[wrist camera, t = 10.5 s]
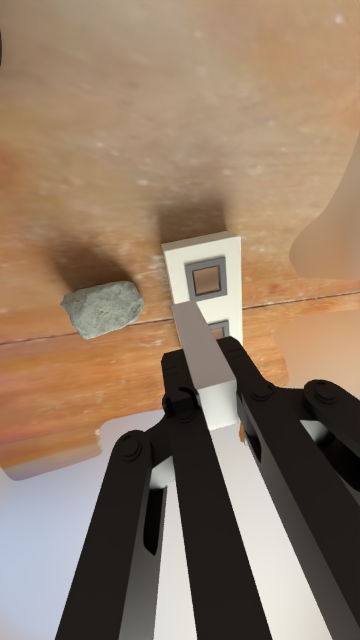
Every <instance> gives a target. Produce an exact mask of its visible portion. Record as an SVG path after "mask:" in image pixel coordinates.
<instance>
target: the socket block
mask: <svg viewBox="0 0 360 640" xmlns="http://www.w3.org/2000/svg"><path fill="white" fill-rule="evenodd" d="M161 246H162V251H163V256H164V261H165V266H166V271H167V276H168V281H169V286H170V291H171V296H172V301H173V305H174V304H178V303H182V302H186V301H190V300H194V299H195V301H196V303H197V305H198V307H199V309H200V311H201V313H202V315H203V316H204V318H205V320H206V322H207V324H208V326H209V328H210V330H212V329H217V328H221V327H222V333H223V338H224V337H227V336H232V337H234V338H235V339H237V340H238V341H239V342H240V343H241V345H242V293H241V236H240V235H237V234H235V233H232V232H229V231H223V232H218V233H213V234H208V235H203V236H198V237H193V238H188V239H184V240H179V241H174V242H169V243H164V244H161ZM212 266H218V279H219V289H217V290H213V291H208V292H204V293H199V294H196V292H195V289H194V282H193V275H192V271H193V270H198V269H202V268H207V267H212Z"/></svg>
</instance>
